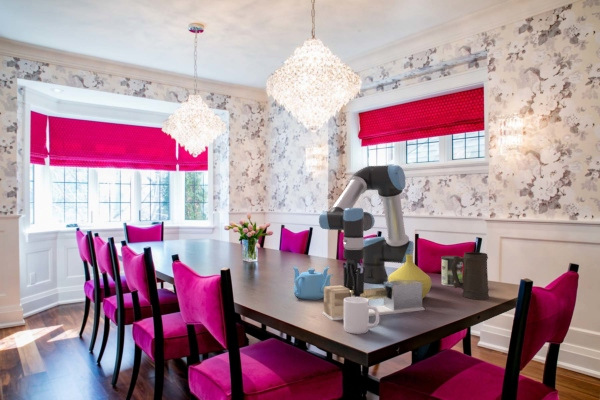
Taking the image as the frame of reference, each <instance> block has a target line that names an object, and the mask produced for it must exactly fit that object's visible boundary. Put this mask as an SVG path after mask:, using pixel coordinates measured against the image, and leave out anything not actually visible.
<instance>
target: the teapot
mask: <svg viewBox="0 0 600 400" xmlns="http://www.w3.org/2000/svg"><path fill="white" fill-rule="evenodd" d="M292 267H293V270H294V278H293V281H294V282H293V283H294V286H293V295H295V296H296V297H297V298H299V299H302V300H309V301H310V300H314V301H315V300H321V299H322V300H323V299H324V287H326V286H331V278H332V276H334V273H331V274H330V273H329V274H328V270H329V268H330V266H326V267H325V268H324V269H323V271H322V272H319V271H315V268H308V269H307V271H302V272H301V273H300V272H299V268H298V267H297V266H295V265H293V266H292Z"/></svg>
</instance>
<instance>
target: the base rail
mask: <svg viewBox="0 0 600 400" xmlns="http://www.w3.org/2000/svg"><path fill="white" fill-rule="evenodd" d="M374 306H375V307H376V308H377V310H378V312H379V316H383V315H393V314H401V313H403V314H404V313H411V312H412V313H413V312H419V311H425V307H423V306H422V308H412V309H403V310H394V311H393V310H391V309H389V308H387V307H385V306H384V304H382V305H374ZM321 314H322V315H323V316H325V317H326V318H328V319H329V320H330V321H340V320H344V316H340V317H330V316H329V315H327V314H326V313H324V310H323V311H321ZM374 316H375V317H376V314H375V311H374V310H373V309H369V317H374Z"/></svg>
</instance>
